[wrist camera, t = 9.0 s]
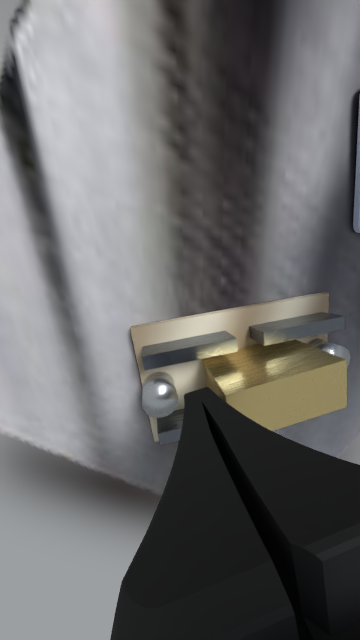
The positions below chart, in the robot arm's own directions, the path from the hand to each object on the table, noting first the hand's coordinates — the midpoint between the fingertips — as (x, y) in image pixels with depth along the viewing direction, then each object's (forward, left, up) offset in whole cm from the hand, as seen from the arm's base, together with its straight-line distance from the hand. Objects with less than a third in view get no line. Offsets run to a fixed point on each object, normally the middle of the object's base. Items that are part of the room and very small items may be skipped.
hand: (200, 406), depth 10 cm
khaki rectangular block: (-4, 0, -3) cm, 5 cm away
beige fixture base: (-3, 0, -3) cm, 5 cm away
